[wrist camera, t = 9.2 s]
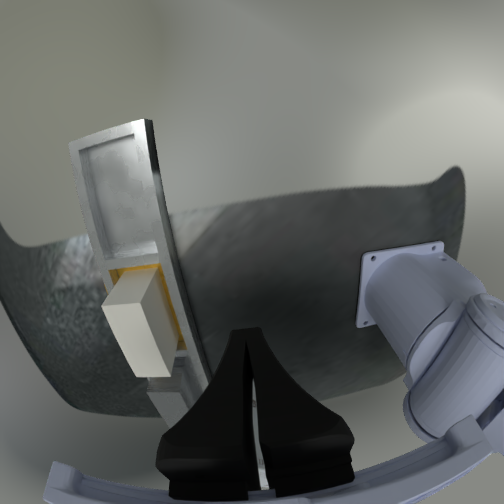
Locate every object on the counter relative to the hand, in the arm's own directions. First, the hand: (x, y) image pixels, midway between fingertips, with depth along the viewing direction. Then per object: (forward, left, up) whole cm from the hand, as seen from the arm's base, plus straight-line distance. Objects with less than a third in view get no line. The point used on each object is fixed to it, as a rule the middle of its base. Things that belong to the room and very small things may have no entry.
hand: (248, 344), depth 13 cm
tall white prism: (+8, +3, -9) cm, 13 cm away
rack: (+8, +3, -10) cm, 13 cm away
